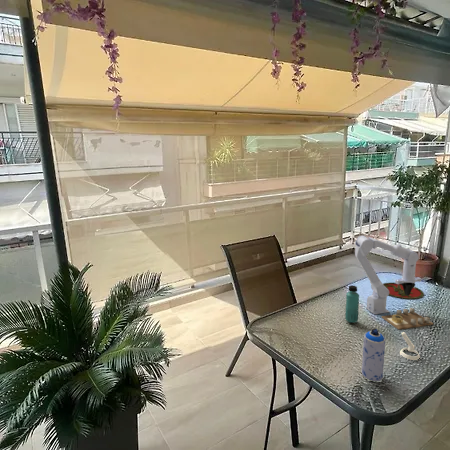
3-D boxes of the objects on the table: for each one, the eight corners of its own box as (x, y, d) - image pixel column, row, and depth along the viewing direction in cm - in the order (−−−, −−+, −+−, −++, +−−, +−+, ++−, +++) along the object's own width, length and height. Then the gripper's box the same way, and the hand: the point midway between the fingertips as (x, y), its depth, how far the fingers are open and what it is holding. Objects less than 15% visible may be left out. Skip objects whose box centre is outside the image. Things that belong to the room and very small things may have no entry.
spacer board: (398, 329, 152) (399, 323, 151) (381, 317, 164) (381, 311, 164) (433, 324, 156) (433, 318, 155) (413, 313, 168) (414, 307, 167)
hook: (388, 335, 139) (403, 328, 137) (404, 359, 136) (419, 353, 134) (390, 340, 132) (405, 333, 130) (407, 366, 129) (423, 360, 127)
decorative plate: (409, 282, 207) (432, 298, 183) (409, 283, 208) (432, 299, 183) (372, 282, 209) (390, 298, 184) (372, 284, 209) (390, 300, 184)
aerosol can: (369, 367, 126) (372, 322, 122) (387, 378, 119) (391, 331, 115) (356, 373, 122) (359, 328, 118) (374, 385, 115) (377, 337, 111)
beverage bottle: (350, 326, 157) (351, 289, 153) (342, 320, 163) (343, 285, 159) (360, 324, 159) (362, 288, 155) (352, 318, 165) (354, 283, 161)
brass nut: (404, 322, 157) (405, 318, 156) (397, 323, 156) (397, 319, 155) (397, 318, 162) (397, 313, 161) (390, 319, 161) (390, 314, 160)
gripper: (402, 275, 161) (400, 299, 164) (426, 272, 164) (424, 296, 166) (393, 270, 168) (391, 294, 171) (416, 268, 171) (414, 291, 173)
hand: (407, 294), depth 169 cm, fingers closed
